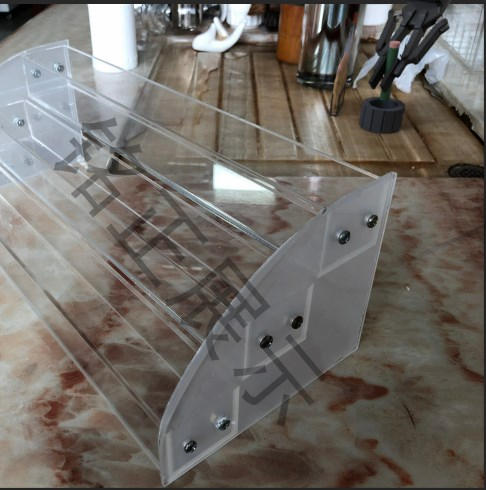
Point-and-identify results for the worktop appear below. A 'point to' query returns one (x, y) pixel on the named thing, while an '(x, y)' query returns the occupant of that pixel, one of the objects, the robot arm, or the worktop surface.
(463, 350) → the worktop surface
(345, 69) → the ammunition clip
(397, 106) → the grooved round container
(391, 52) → the pencil
